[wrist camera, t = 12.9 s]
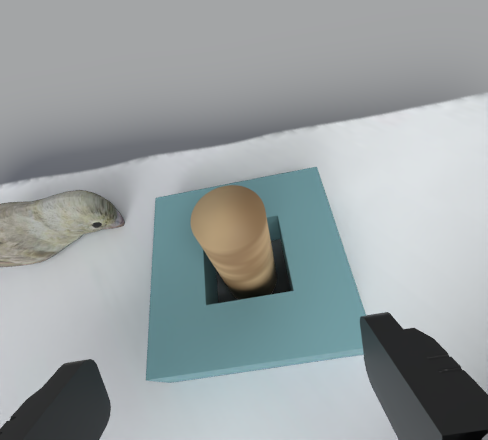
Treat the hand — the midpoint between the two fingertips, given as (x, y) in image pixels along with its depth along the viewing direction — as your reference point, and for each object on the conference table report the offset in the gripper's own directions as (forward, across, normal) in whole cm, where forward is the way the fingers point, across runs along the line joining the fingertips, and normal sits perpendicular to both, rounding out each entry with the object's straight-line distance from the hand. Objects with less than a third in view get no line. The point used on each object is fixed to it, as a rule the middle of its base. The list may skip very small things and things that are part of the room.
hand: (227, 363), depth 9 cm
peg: (+15, 0, +4) cm, 16 cm away
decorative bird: (+20, +20, 0) cm, 28 cm away
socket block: (+15, 0, +4) cm, 16 cm away
